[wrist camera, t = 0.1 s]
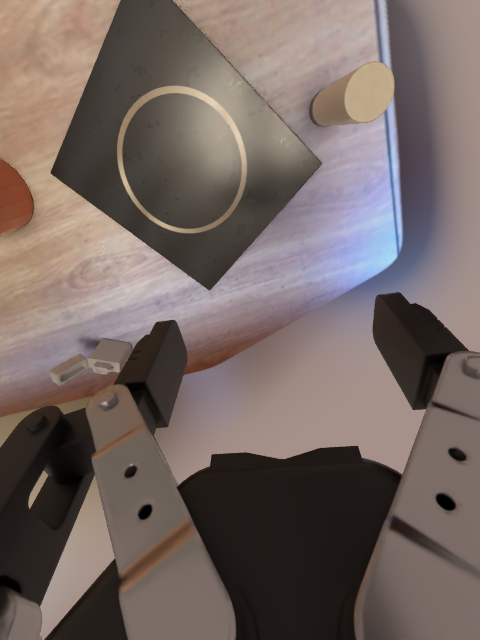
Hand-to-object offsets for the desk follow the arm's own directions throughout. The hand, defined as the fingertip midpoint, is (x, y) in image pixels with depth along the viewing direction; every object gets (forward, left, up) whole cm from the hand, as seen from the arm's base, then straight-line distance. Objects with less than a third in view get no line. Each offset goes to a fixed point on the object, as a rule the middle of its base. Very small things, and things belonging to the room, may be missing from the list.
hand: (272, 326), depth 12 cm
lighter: (-4, -28, -22) cm, 36 cm away
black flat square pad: (-8, -2, -22) cm, 24 cm away
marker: (-1, +10, -22) cm, 24 cm away
